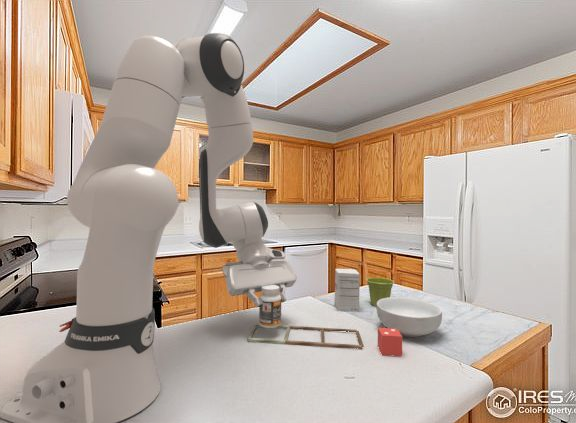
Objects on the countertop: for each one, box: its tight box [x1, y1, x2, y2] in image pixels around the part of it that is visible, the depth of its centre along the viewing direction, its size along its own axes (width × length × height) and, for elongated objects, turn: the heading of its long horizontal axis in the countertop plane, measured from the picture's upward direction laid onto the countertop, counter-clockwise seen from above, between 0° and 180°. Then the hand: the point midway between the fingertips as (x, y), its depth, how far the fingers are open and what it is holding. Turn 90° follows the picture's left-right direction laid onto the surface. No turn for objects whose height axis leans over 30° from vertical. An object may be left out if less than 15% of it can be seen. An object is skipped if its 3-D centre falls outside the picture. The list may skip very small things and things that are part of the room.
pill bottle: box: [258, 285, 282, 329], centre depth 76 cm, size 6×6×10 cm
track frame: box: [246, 323, 365, 350], centre depth 75 cm, size 28×10×1 cm, turn 84°
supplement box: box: [334, 268, 361, 312], centre depth 98 cm, size 7×7×13 cm
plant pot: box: [365, 277, 395, 308], centre depth 102 cm, size 9×9×9 cm
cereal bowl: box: [376, 296, 443, 338], centre depth 80 cm, size 17×17×7 cm
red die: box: [377, 327, 403, 357], centre depth 68 cm, size 4×4×5 cm
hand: (271, 303), depth 75 cm, fingers closed on pill bottle, 6 cm apart
